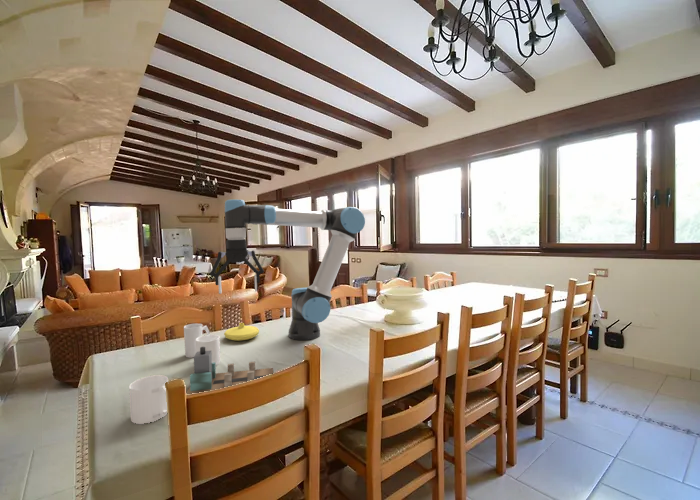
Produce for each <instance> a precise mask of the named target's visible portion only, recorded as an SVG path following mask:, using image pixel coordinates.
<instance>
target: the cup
mask: <svg viewBox="0 0 700 500" xmlns="http://www.w3.org/2000/svg"><path fill="white" fill-rule="evenodd" d="M220 338H221V337H220V335H218V334H210V335H207V334H206V335H202V336H200V337H198V338H196V352H199V351H200V347H205V350H206V351H211V350H212V363H213V362H215V365H216V367H217V366H219V365H220V363H221V348H220V347H221V343H220V341H221V340H220Z"/></svg>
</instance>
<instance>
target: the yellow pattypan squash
mask: <svg viewBox="0 0 700 500" xmlns="http://www.w3.org/2000/svg"><path fill="white" fill-rule="evenodd" d="M238 325H239V326H235V327H230V328H228V329H227V330H225V331H224V334H223V335H224V337H225V338H226V339H228V340H231V341H236V342H237V341H239V342H240V341H242V342H243V341H246V340H251V339H253V338H254V337H256V336H258V335H259V333H260V329H259V328H258V327H257V326H253V325H245V323H244V322H239V324H238Z"/></svg>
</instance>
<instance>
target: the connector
mask: <svg viewBox="0 0 700 500" xmlns="http://www.w3.org/2000/svg"><path fill="white" fill-rule="evenodd" d="M193 371H194V373H193V374H195V373H205V372H211V376H212V350H211V351H206V350H205V347H200V351H199V352H196V354H195V356H194V357H193Z"/></svg>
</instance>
